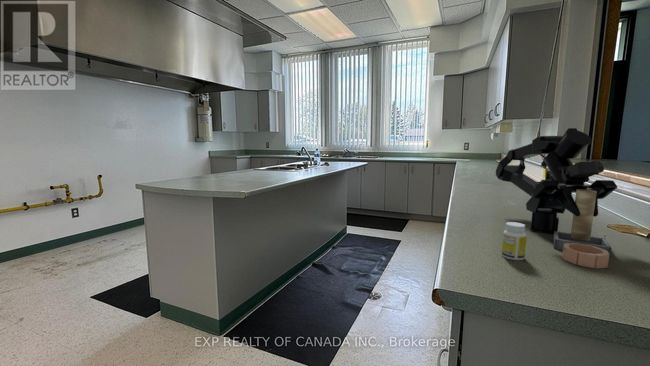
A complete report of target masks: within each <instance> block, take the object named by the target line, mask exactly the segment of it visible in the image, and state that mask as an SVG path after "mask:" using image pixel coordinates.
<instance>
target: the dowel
mask: <svg viewBox="0 0 650 366" xmlns="http://www.w3.org/2000/svg"><path fill="white" fill-rule="evenodd" d="M596 193H597V191H594V190H586V189H577V190H576V193H575V199H574V201H575V203H576V205H577V207H578V209H579V211H580V215H579V216H575V215H574V214H572V223H571V231H570V233H571V238H574V239H577V240H583V241H589V240H590V237H591V236H592V228H593V221H594V216H593V215H594V208H595V201H596Z"/></svg>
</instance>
